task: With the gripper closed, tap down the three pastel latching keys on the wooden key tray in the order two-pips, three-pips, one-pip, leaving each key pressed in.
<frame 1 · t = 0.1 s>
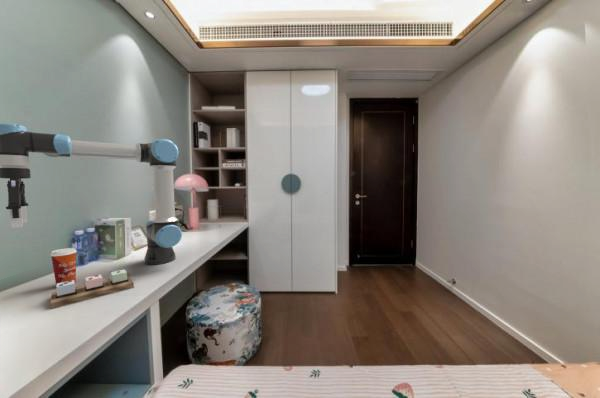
hand: (19, 225, 91), 28 cm above the table, fingers open, 13 cm apart
coffee cup: (66, 284, 105), on the table
key two: (93, 281, 96), point 5 cm above the table, slide at 0.0 cm
key three: (66, 287, 91), point 5 cm above the table, slide at 0.0 cm
wooden key tray: (94, 292, 97), on the table
key one: (118, 275, 102), point 5 cm above the table, slide at 0.0 cm
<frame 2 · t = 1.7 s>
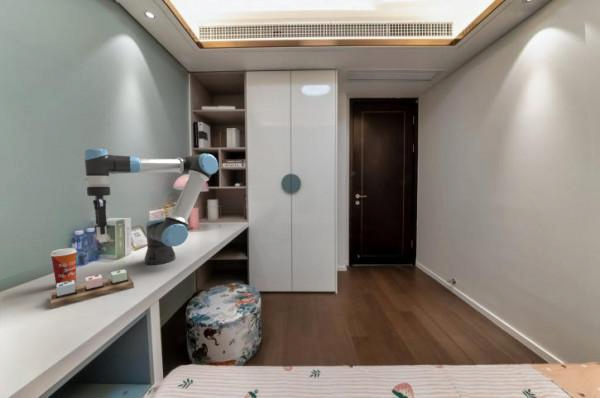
hand: (102, 240, 104), 19 cm above the table, fingers open, 6 cm apart
nothing on the table moved.
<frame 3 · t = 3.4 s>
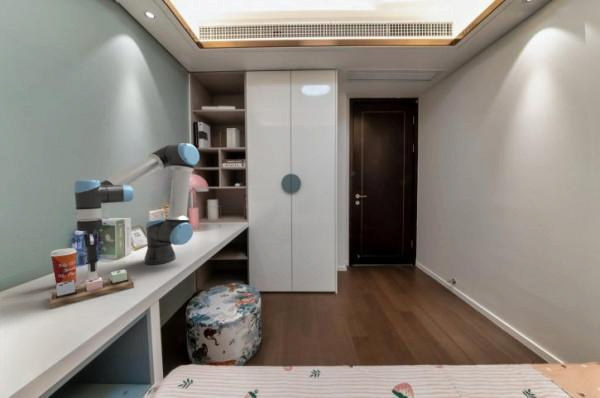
hand: (93, 278, 96), 6 cm above the table, fingers closed
key two: (94, 283, 96), point 3 cm above the table, slide at 1.1 cm
everything else where it was.
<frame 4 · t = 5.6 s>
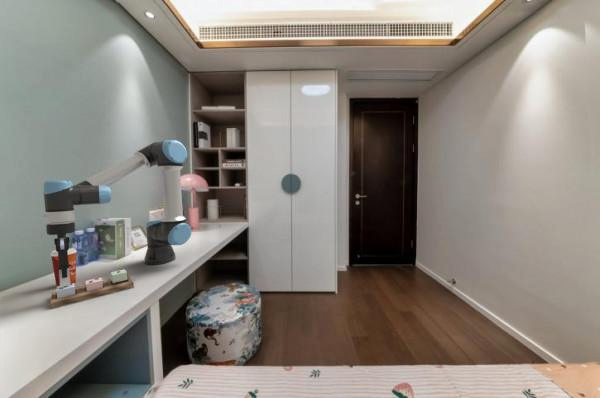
hand: (65, 285, 91), 5 cm above the table, fingers closed
key three: (66, 290, 91), point 3 cm above the table, slide at 1.2 cm, touching gripper
everything else where it was.
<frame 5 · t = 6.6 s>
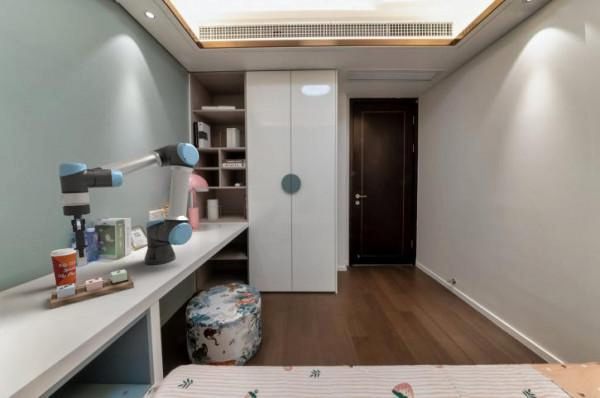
hand: (82, 265, 94), 12 cm above the table, fingers closed
key three: (66, 290, 91), point 3 cm above the table, slide at 1.3 cm
everything else where it was.
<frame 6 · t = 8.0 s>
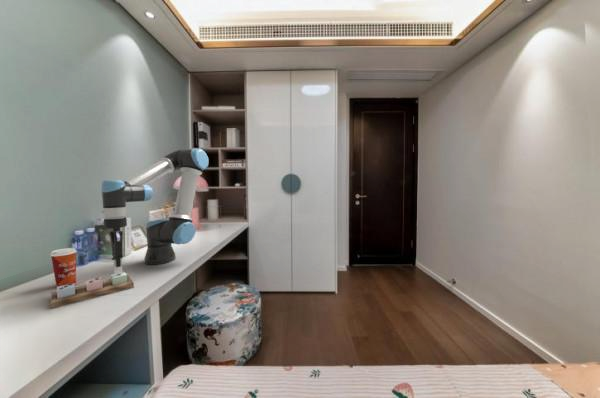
hand: (118, 273, 102), 5 cm above the table, fingers closed
key one: (119, 278, 102), point 3 cm above the table, slide at 1.2 cm, touching gripper
everything else where it was.
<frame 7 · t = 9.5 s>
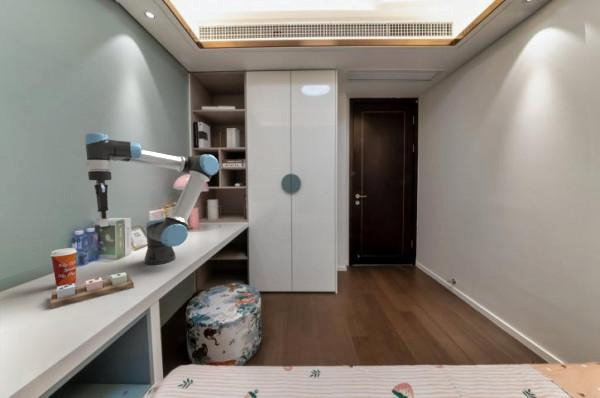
hand: (104, 226, 105), 25 cm above the table, fingers closed
key one: (119, 278, 102), point 3 cm above the table, slide at 1.3 cm
everything else where it was.
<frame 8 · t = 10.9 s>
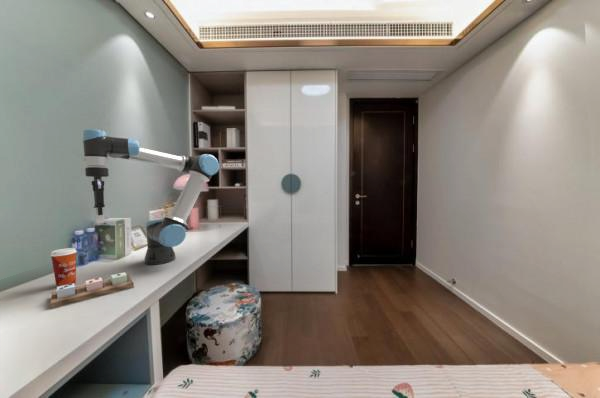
hand: (100, 222, 105), 26 cm above the table, fingers closed
nothing on the table moved.
at the end: key two slide at 1.3 cm; key three slide at 1.3 cm; key one slide at 1.3 cm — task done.
